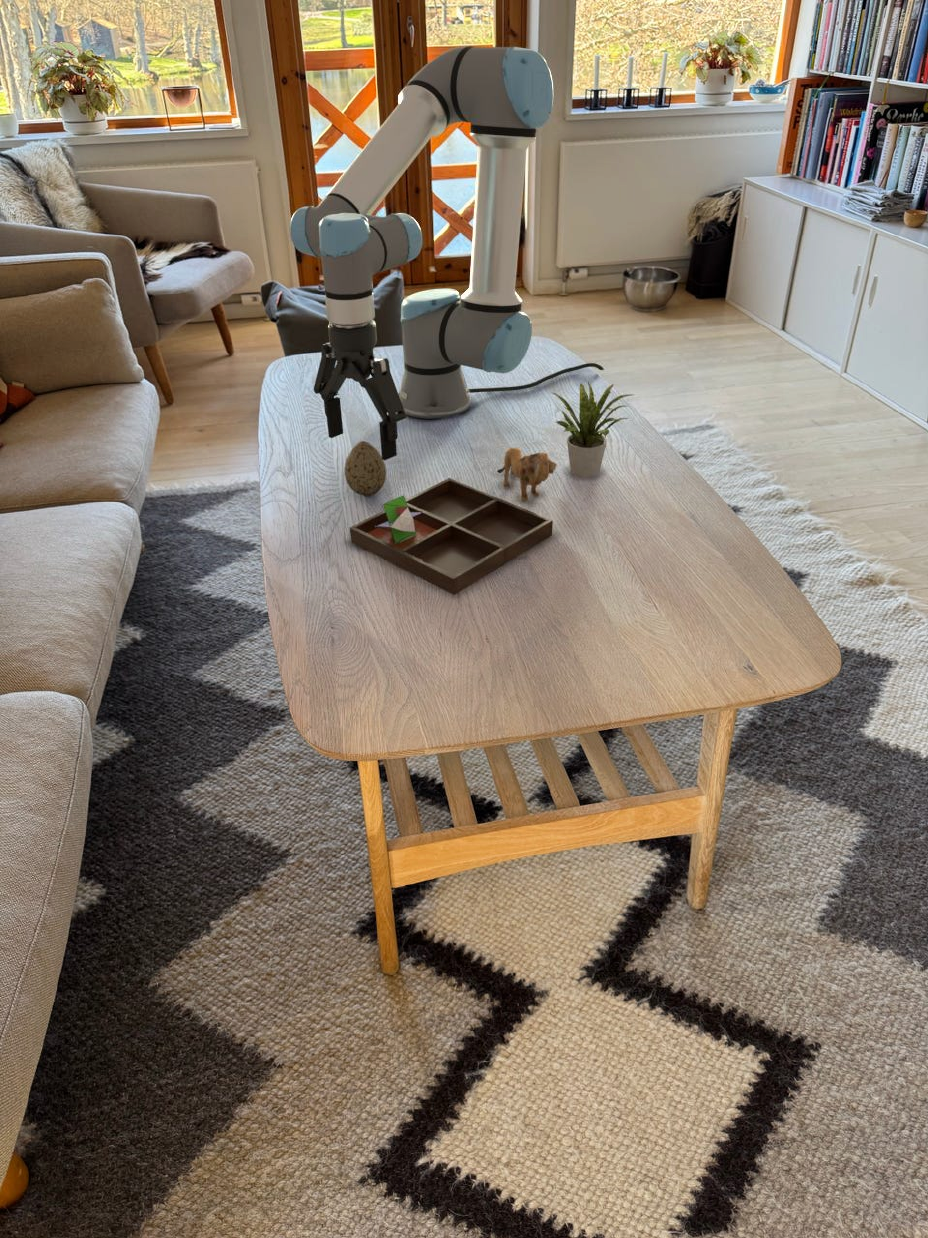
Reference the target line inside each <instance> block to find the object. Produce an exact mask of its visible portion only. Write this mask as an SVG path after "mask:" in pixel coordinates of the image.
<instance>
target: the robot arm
mask: <svg viewBox="0 0 928 1238" xmlns="http://www.w3.org/2000/svg"><path fill="white" fill-rule="evenodd" d="M553 104H554V83H553V77H552V74H551V70H550V68H549V65H548V63H547V61H546V60H545V58H544V57H543V55H542V54H540V52H538V51H536V50H534V49H531V48H526V47H525V48H523V47H518V46H473V45H461V46H457V47H454V48H451V49H449V50H446V51H444V52H443V53H441V54H440V55H438V56H436V57H435V58H433V59H431V61H429V62H428V63H427V64H425V65H424V66H422V68H421V69H420V70H419V71H418V72H416V73H415V74H414V75H413V76H412V78H411V79H410V80H409V81H408V82H407V83H406V84H405V86H404V87H403V88H402V90H401V91H400V92H399V94H398V104H397V105H396V107H395V108H394V110H393V111H392V112H391V113H390V114H389V116H388V117H387V118H386V119H385V120H384V122H383V123H382V124H381V126H380V127H379V128H378V130H377V131H376V132H375V133H374V134H373V136H372V137H371V138H370V139H369V140H368V142H367V143H366V145H365V146H364V147H363V149H362V150H361V151H360V152H359V153H358V155H357V156H356V157H355V158H354V160H353V161H352V162H351V163H350V165H349V166H348V167H347V168H346V169H345V171H344V172H343V174H342V175H341V176H340V177H339V178H338V180H337V181H336V182H335V184H334V185H333V186H332V187H331V189H330V190H329V191H328V192H327V194H326V195H325V197H324V198H323V199H322V200H321V201H320V202H319V204H318V205H317V206H314V205H308V206H302V207H300V208H298V209H297V210H296V211H294V213H293V215H292V217H291V220H290V223H289V236H290V239H291V243H292V245H293V246H294V248H295V249H296V250H297V251H298V252H300V253H302V254H305V255H308V256H311V257H315V258H318V259H320V260H321V269H322V270H321V271H322V277H323V285H324V300H325V301H324V302H325V312H326V313H325V314H326V320H327V321H328V322H329V323H328V324H327V329H328V340H329V341H328V342H326V343H324V344H321V346H320V349H321V350H320V351H321V357H320V361H319V366H318V370H317V373H316V377H315V382H314V385H313V392H314V393H315V394H316V395H318V394H319V395H320V398H321V399H322V400H323V407H324V409H323V410H324V414H325V417H326V422H327V424H326V426H327V435H328V438H330V439H333V438H336V437H339V436H341V435H343V434H344V425H343V415H342V406H341V397H338V396H339V395H340V393H339V391H340V390H341V389H342V387H343V385H344V383H345V381H346V380H347V379H351V380H353V381H354V382H356V383H359V385H360V387H361V388H364V389H365V392H366V394H367V395H368V397H369V399H370V400H371V401H372V404H373V406H374V407H375V410H376V411H377V413H378V414H379V417H380V418H381V420H382V421H379V423H378V425H379V437H380V438H379V439H380V450H381V451H380V454H381V457H382V459H383V461H387V460H390V459H392V458H394V457H396V456H398V453H397V451H398V449H397V440H398V437H399V435H398V422H399V421H402V420H405V419H406V418H407V416H409V417H412V418H417V419H423V420H440V419H449V418H453V417H455V416H459V415H461V414H463V413H465V412H466V411H468V410H469V409H470V407H471V405H472V403H471V402H472V401H471V400H472V399H471V394H473V393H475V394H476V393H492V392H494V393H495V392H510V391H511V392H512V391H520V390H527V389H530V388H534V387H536V386H538V385H541V384H542V383H544V382H546V381H549V380H552V379H554V378H557V377H558V376H562V375H564V374H567V373H571V372H575V371H578V370H581V369H582V370H583V369H585V368H597V369H598V370H599V371H604V370H605V368H604V367H603V366H602V365H600V364H598V363H595V362H587V363H583V364H579V365H576V366H571V367H568V368H564V369H561V370H559V371H555V372H553V373H551V374H549V375H546V376H544V377H542V378H539V379H538V380H536V381H533V382H531V383H526V384H522V385H521V384H520V385H514V386H502V387H501V386H500V387H499V386H498V387H497V386H496V387H480V388H479V387H477V388H468V386H467V381H466V379H465V376H464V375H465V374H464V373H463V370H462V366H464V367H467V368H472V369H475V370H476V369H477V370H481V371H484V372H486V373H498V374H508V373H510V372H512V371H514V370H515V369H517V367H518V366H519V365H520V364H521V363H522V361H523V359H525V356H526V355H527V353H528V350H529V347H530V344H531V341H532V333H533V325H532V322H531V318H530V317H529V316H528V315H527V314H526V312H522V306H523V300H522V298H521V297H520V296H519V294H518V293H517V292H516V282H517V272H518V271H517V270H518V259H519V258H518V257H519V245H520V234H521V220H522V210H523V209H522V208H523V199H524V197H523V196H524V195H523V194H524V184H525V172H526V160H527V151H528V150H527V149H528V148H529V147H530V146H531V145H532V144H533V143H534V142H535V140H537V132H538V131H537V130H538V129H540V128H542V127H543V126H544V125H546V124H547V122H548V121H549V120H550V119H549V118H550V115H551V113H552V110H553ZM457 123H470V129H469V135H470V137H471V139H473V140H474V142H475V143H476V145H477V155H476V156H477V157H476V172H475V173H476V175H475V191H474V206H473V207H474V208H473V224H472V242H471V256H470V257H471V258H470V275H469V287H468V289H467V290H465V292H464V293H463V294H461V296H460V293H459V291H457V290H456V289H453V288H434V289H427V290H422V291H418V292H415V293H412V294H410V295H408V296H406V297H405V298H404V299H403V301H402V302H401V305H400V320H399V321H400V327H401V339H402V352H403V353H402V354H403V364H404V367H403V368H404V370H403V375H402V379H401V384H400V390H399V391H398V389H397V387H396V384H395V381H394V378H393V376H392V374H391V373H392V372H391V367H390V361H389V359H388V357H384V358H376V357H375V354H374V349H375V347H376V345H377V343H378V337H377V336H378V335H377V323H376V321H375V320H374V319H375V318H376V312H375V299H374V281H373V276H375V275H378V274H379V273H382V272H386V271H388V270H392V269H394V268H397V267H403V266H404V265H406V264H407V263H409V262H411V261H413V260H415V259H416V258H417V257H418V256H419V255H420V253H421V250H422V248H423V233H422V229H421V227H420V225H419V223H418V222H417V221H416V219H415V218H414V217H412V216H411V215H410V214H407V213H404V212H399V213H390V214H388V215H387V216H379V215H373V213H374V212H375V211H376V209H377V208H378V207H379V205H380V204H381V203H382V201H383V200H384V199H385V198H386V197H387V195H388V194H389V193H390V191H391V190H392V189H393V188H394V186H395V185H396V183H397V182H398V181H399V180H400V178H401V177H402V176H403V175H404V174H405V172H407V171H406V170H407V169H408V168H409V167H410V165H411V164H412V163H413V162H414V161H415V159H416V158H417V156H418V155H419V154H420V153H421V152H422V150H423V149H424V147H425V146H426V145H427V144H428V143H429V141H430V139H431V138H435V137H439V136H441V135H442V134H443V132H444V131H446V129H447V127H449V126H450V125H453V124H457ZM370 376H371V377H370Z"/></svg>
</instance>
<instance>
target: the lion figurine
mask: <svg viewBox="0 0 928 1238" xmlns="http://www.w3.org/2000/svg"><path fill="white" fill-rule="evenodd" d="M503 460H504V461H503V462H504V463H503V464H504V466H503V467H501V468H499V469H497V470H496V472H497V473H498V474H502V473H503V472H504V473H503V485H502V486H503V487H505V488H508V487H510V485H511V483H510V482H509V475H510V477H512V478H516V477H517V478H519V481H520V482H519V483H520V500H521V502H527V501H528V500H529V497H528V496H529V495H528V492H527V489H528V486H530V494H531V495H532V496H533V497H539V495H540V492H539V491H538V490H537V486H539V485H541V484H542V482H545V481H546V480H547V479H548V478H549V476H550V475H553V474H554V471H555V470H556V468H557V466H558V464H557V463H556V462H554V461H552V460H551V459H550V458H549V457H548V453H547V452H545V451H542V452H540V451H538V452H535V453H533V454H529V455H523V453H522V450H521V449H520V448H518V447H514V446H510V447H509V448H508V449H507V450H506V451H505V454H504V459H503Z"/></svg>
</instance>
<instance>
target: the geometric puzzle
mask: <svg viewBox="0 0 928 1238" xmlns="http://www.w3.org/2000/svg"><path fill="white" fill-rule="evenodd" d="M408 498H409V497H406V496H405V494H403V495H400V496H398V497H396V498H393V499H391V500H389V501H387V502H383V503H382V507H383V510H381V512H383V511H384V510H385V512H386V516H387V519H388V521H387V522H385V523H383V524H380V525H378V526H377V524H376V526H375V527H378V528H380V527H390V529H391V530H389V531H391V532H392V535H393V538H394V542H395V544H396V543H398V542H400V541H403V540H405V539H407V538H409V537H411V536H413V535H416V533H415V527H414V520H413V517H414V516H416V515H418V514H420V513H424V512H421V511H420V512H410V511H409V509H408V508H409V507H408V506H407V503H406V499H408ZM408 500H409V499H408ZM415 506H416V505H415ZM416 507H417V506H416ZM411 509H412V508H411ZM414 510H415V509H414ZM417 511H418V510H417ZM381 514H382V513H381ZM421 517H422V516H421ZM378 519H380V518H378ZM420 520H421V519H420ZM378 521H379V520H378ZM378 521H377V523H378ZM419 523H420V521H419ZM418 526H419V525H418ZM382 529H384V528H382ZM417 529H418V528H417ZM385 530H387V529H385ZM381 532H382V531H381ZM416 532H417V531H416ZM389 539H390V538H389Z"/></svg>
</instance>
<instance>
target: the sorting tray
mask: <svg viewBox="0 0 928 1238" xmlns="http://www.w3.org/2000/svg"><path fill="white" fill-rule="evenodd" d="M407 498H408V499H409V500H408V499H407ZM407 498H405V500H406V503H407V506H408V507H409V508H408V509H409V511H410V512H420V511H421V512H424V513H420V514H418V515H416V516H414V517H413V520H414V527H415V533H416V535H413V536H411V537H409V538H407V539H405V540H403V541H400V542H398V543H396V544H395V542H394V538H393V535H392V532H391V531H389V530H391V529H390V527H380V528H378V527H375V526H376V524H377V526H378V525H380V524H383V523H385V522H387V521H388V519H387V516H386V512H385V509H383V510H382V511H383V512H382V511H379V512H378V513H376V514H374V515H372V516H370V517H368V518H366V519H364V520H362V521H360V522H358V523H356V524H354V525H351V526H350V527H349V537H350V543H351V544H353V545H355V546H356V547H359V548H360V549H362V550H365V551H367V552H368V553H370V554H373V555H375V556H376V557H379V558H381V559H382V560H384V561H387V562H389V563H390V564H392V565H394V566H396V567H399V568H400V569H402V570H404V571H406V572H408V573H410V574H412V575H414V576H416V577H418V578H420V579H422V580H424V581H426V582H427V583H430V584H431V585H434V586H436V587H437V588H439V589H441V590H443V591H445V592H448V593H449V594H452V595H453V596H455V595H457V594H458V593H459V592H462V591H463V590H465V589H466V588H468V587H470V586H471V585H473V584H474V583H476V582H478V581H479V580H482V579H483V578H485V577H486V576H489V574H491V573H492V572H494V571H496V570H498V569H499V568H501V567H502V566H504V565H506V564H508V563H509V562H511V561H512V560H515V559H516V558H517V557H519V556H521V555H522V554H524V553H526V552H527V551H529V550H531V549H532V548H534V547H535V546H537V545H539V544H541V543H542V542H544V541H546V540H547V539H549V538H550V537H552V536H553V529H554V528H553V525H554V521H553V519H551V518H548V517H546V516H543V515H541V514H538V513H536V512H533V511H531V510H529V509H526V508H523V507H521V506H519V505H517V504H514V503H511V502H509V501H507V500H505V499H502V498H499V497H497V496H494V495H492V494H490V493H487V492H485V491H482V490H481V489H477V488H475V487H472V486H470V485H467V484H465V483H463V482H461V481H459V480H455V479H453V478H450V477H448V478H446V479H444V480H442V481H440V482H437V483H436V484H434V485H432V486H430V487H428V488H426V489H424V490H422V491H420V492H418V493H415V494H414V495H412V496H410V497H407ZM415 505H416V506H417V507H416V506H415ZM411 508H412V509H411ZM414 509H415V510H414ZM417 510H418V511H417ZM381 513H382V514H381ZM421 516H422V517H421ZM378 518H380V519H378ZM420 519H421V520H420ZM378 520H379V521H378ZM377 521H378V523H377ZM419 521H420V523H419ZM418 525H419V526H418ZM382 528H384V529H382ZM417 528H418V529H417ZM385 529H387V530H385ZM381 531H382V532H381ZM416 531H417V532H416ZM389 538H390V539H389Z"/></svg>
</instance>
